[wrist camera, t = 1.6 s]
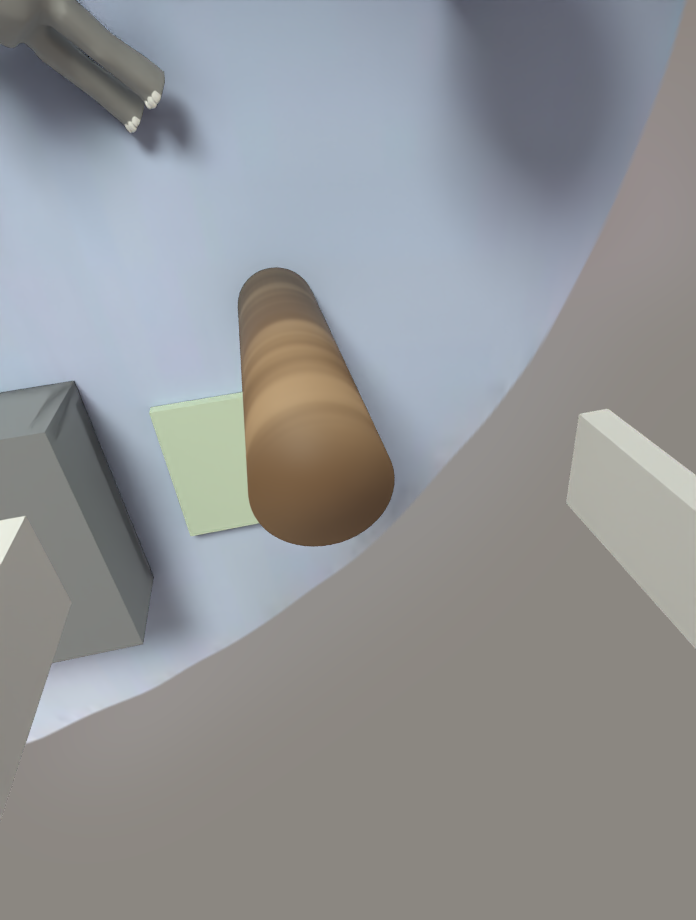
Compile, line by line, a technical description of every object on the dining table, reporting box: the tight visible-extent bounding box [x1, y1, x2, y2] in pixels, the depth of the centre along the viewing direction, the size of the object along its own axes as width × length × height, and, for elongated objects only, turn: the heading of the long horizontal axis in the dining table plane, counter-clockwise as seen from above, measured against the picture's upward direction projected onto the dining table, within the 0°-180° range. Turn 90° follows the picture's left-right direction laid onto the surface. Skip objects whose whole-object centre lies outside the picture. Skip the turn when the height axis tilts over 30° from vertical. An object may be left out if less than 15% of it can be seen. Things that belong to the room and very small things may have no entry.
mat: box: [149, 392, 259, 536], centre depth 30 cm, size 8×8×1 cm
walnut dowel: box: [238, 268, 394, 546], centre depth 20 cm, size 4×4×15 cm
